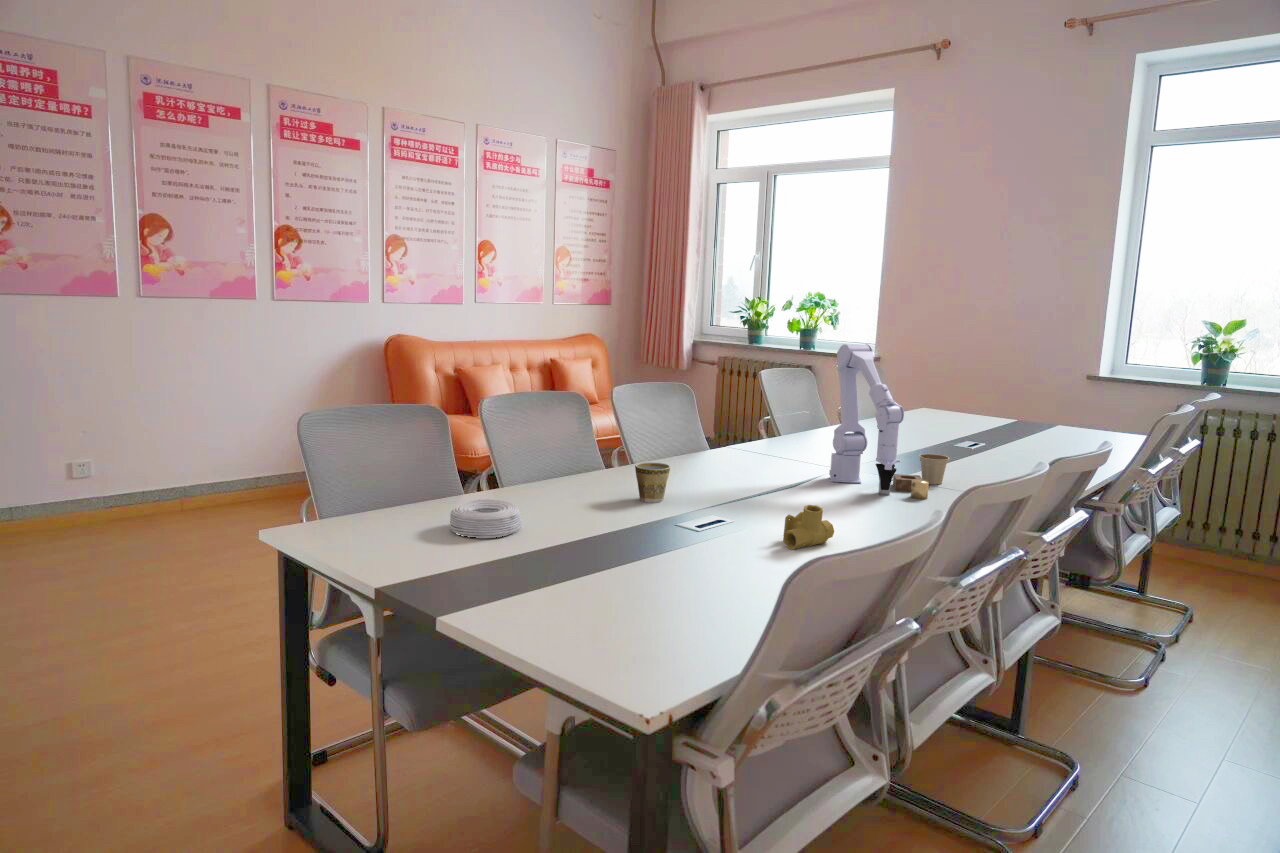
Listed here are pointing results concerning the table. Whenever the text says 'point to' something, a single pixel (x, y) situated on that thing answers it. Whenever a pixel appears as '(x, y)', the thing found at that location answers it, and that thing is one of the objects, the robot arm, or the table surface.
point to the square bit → (883, 492)
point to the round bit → (919, 489)
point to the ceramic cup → (652, 480)
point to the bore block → (904, 481)
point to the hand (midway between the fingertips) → (884, 488)
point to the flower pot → (933, 467)
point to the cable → (485, 518)
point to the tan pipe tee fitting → (807, 528)
